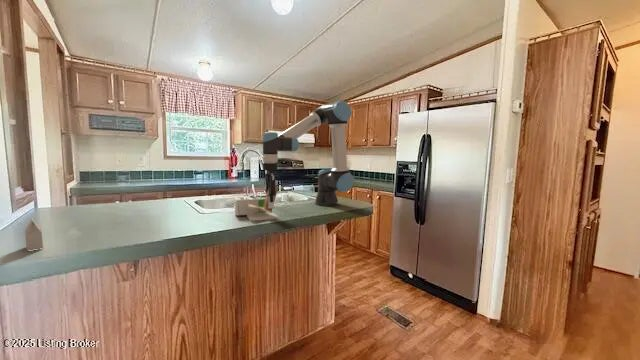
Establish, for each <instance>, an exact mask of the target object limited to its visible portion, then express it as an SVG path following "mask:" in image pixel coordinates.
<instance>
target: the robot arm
mask: <svg viewBox="0 0 640 360" xmlns="http://www.w3.org/2000/svg"><path fill="white" fill-rule="evenodd" d="M351 116H352V109H351V106H350V105H349V104H348V102H346V101H344V100H338V101H337V100H336V101H332V102H328V103H324V104H322V105H320V106H319V107H318V108H316V109H314V110H313V111H312V112H311V111H310V114H309V116H308V115H307V116H306V117H305V118H304V119H302V120H300V121H299V122H297V123H296V124H294V125H292V126H290V127H289V128H288V129H286V130H285V131H283V132H282V133H279V134H278V133H277V132H274V131H272V132H271V131H267V132H266V131H264V132H263V134H262V156H261V158H262V162H263V163H262V170H263V171H266V173H265V174H264V185H265V186H264V192H265V195H266V194H267V191H268V188H269V195H268V208H272V209H274V207H275V206H274V205H275V201H274V195H275V185H276V179H277V177H276V175H275V171H277V170H278V166H279V165H278V161H279V158H278V157H279V156H278V155H279V154H278V152H290V153H292V152H297V151H298V149H299V146H300V142H299V140H298V139H299V138H300V137H302V136H304V135H305V134H307V133H308V132H310V131H311V130H313V129H314V128H315V127H320V126H322V125H324V124H327V125H328V127H329V128H330V135H331V153H332V155H331V157H332V168H330V169H329V168H328V169H321V170H319V171H318V175H317V176H318V177H317V179H318V180H317V181H318V182H317V187H318V188H317V194H316V197H315V201H314V203H315V205H317V206H323V207H330V206H331V207H332V206H337V204H339V200H338V196H337V193H336V192H340V193H341V192H342V193H345V192H348V191H350V190H351V189H352V188H353V185H354V182H355V179H354V176H353V174H352V173H350V167H348V163H347V162H348V161H347V160H348V158H347V156H348V155H347V142H346V141H347V137H346V135H347V134H346V126H348V122H349V121H348V120H350V118H351Z"/></svg>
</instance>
